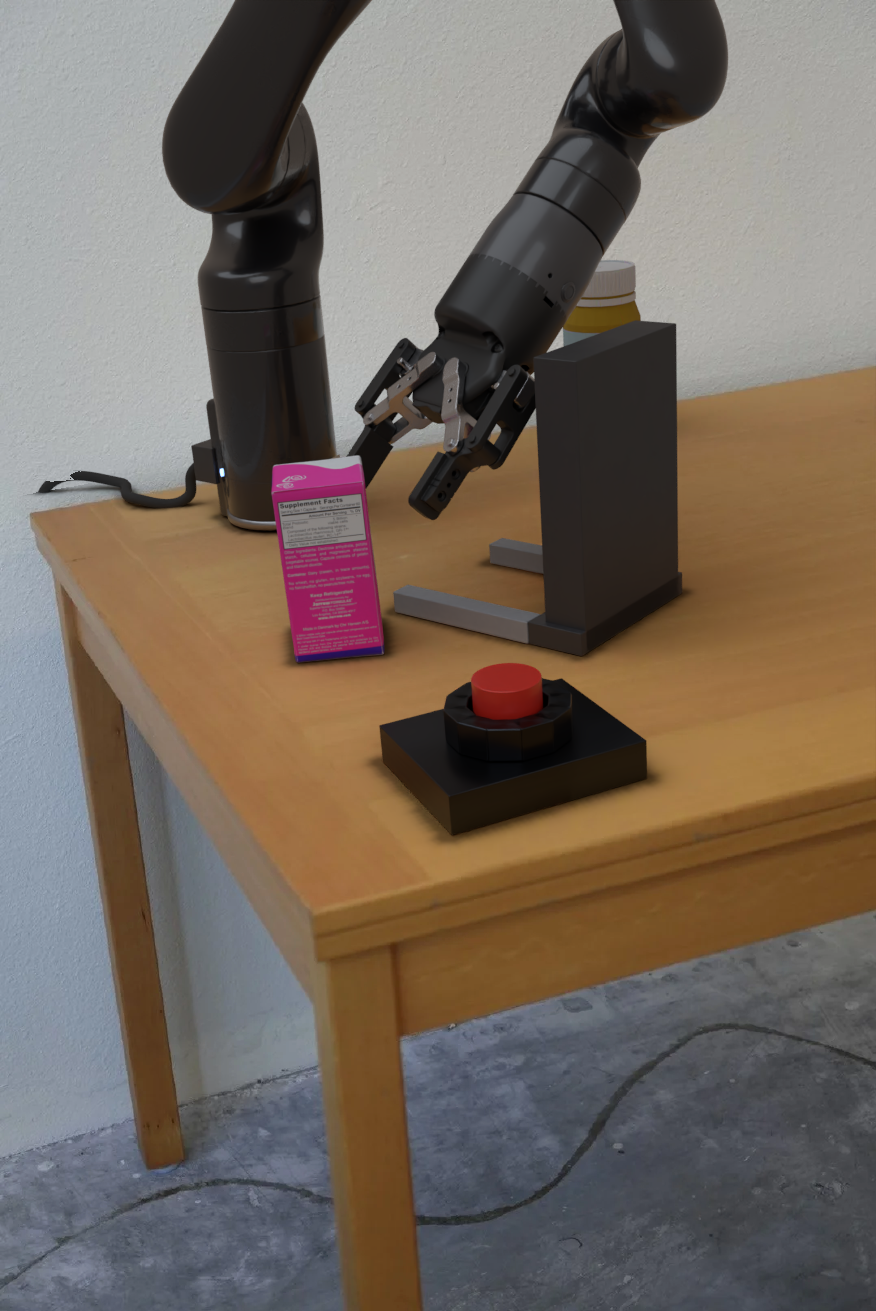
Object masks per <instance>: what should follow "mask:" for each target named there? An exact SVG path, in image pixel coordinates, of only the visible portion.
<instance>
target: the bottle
mask: <svg viewBox="0 0 876 1311" xmlns="http://www.w3.org/2000/svg"><path fill="white" fill-rule="evenodd" d="M636 272H637V270H636V264H635V262H633V261H630V260H623V259H601V261H600V263H599V264H598V266H597V268H596V271H595V273H594V275H593V277H592V280H591V282H590V284H589V286H588V288H587V289H586V291H585V293H584V294H583V296H582V298H581V299H580V301H579V302H578V304H577V305H576V307H575V309H574V310H573V312H572V313H571V315H570V316H569V318H568V319H567V321H566V323H565V324H564V326H563V327H562V343H563V344H562V345H563V347H564V346H566V345H569V344H572V343H575V342H577V341H580V340H583V339H586V338H588V337H591V336H594V335H597V334H599V333H602V332H605V331H608V330H610V329H613V328H616V327H619V326H621V325H624V324H627V323H630V322H632V321H635V320H636V321H642V318H641V317H642V316H641V313H640V310H639V307H638V305H637V302H636V299H637V298H636V297H637V293H636V292H637V291H636V287H637V286H636V285H637V279H636Z"/></svg>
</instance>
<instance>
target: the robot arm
mask: <svg viewBox="0 0 876 1311" xmlns="http://www.w3.org/2000/svg"><path fill="white" fill-rule="evenodd" d="M372 1H373V0H234V1H233V3H232V5H231V7H230V8H229V11H228V12H227V14H226V16H225V18H224V20H223V21H222V23H221V25H220V27H219V28H218V29H217V31H216V33H215V34H214V36H213V38H212V39H211V41H210V43H209V44H208V46H207V48H206V49H205V51H204V53H203V55H202V56H201V58H200V59H199V61H198V63H197V64H196V66H195V67H194V69H193V71H192V72H191V74H189V77H188V78H187V80H186V82H185V83H184V85H183V87H181V89H180V91H179V93H178V95H177V97H176V98H175V99H174V102H173V103H172V105H171V108H170V110H169V112H168V115H167V117H166V120H165V123H164V127H163V131H162V139H161V140H162V141H161V154H162V163H163V167H164V171H165V175H166V177H167V180H168V182H169V184H170V187H171V189H172V190H173V191H174V192H175V194H176V195H177V197H178V198H179V199H180V200H181V201H182V202H183V203H185V204H186V205H187V206H188V207H190V208H192V209H194V210H196V211H197V212H201V213H204V214H208V215H211V230H212V231H211V238H210V243H209V247H208V250H207V252H206V255H205V257H204V259H203V261H202V262H201V264H200V266H199V269H198V271H197V288H198V296H199V303H200V309H201V316H202V324H203V331H204V338H205V339H204V340H205V345H206V352H207V359H208V360H207V361H208V367H209V374H210V381H211V382H210V383H211V390H212V397H213V398H210V399H209V400H207V401H206V406H205V409H206V415H207V423H208V430H209V439H207V440H206V439H205V440H204V441H201V442H198V443H195V444H192V445H191V446H190V448H191V453H192V461H193V462H192V463H191V464H190V466H189V467H188V469H187V470H186V473H185V477H184V484H185V491H184V492H183V493H182V494H181V495H179V496H176V497H174V498H159V497H154V496H149V495H144V494H140V493H136V492H133V490H132V488H133V487H132V483H131V482H130V481H129V480H128V479H127V478H124V477H121V476H117V475H116V476H115V475H111V474H105V473H101V472H95V471H88V470H77V471H78V472H75V473H73V474H71V475H70V476H71V477H72V478H73V479H74V480H66V481H54V482H50V481H46V480H45V481H44V482H43V483H41V485H40V487H39V488H38V491H37V493H39V494H46V493H50V492H51V491H52V490H53V489H54V488H56V487H57V486H58V485H61V484H63V483H66V482H74V481H75V482H76V481H78V482H79V481H80V482H91V483H96V484H101V485H106V486H110V487H114V488H115V487H116V488H120V495H121V498H122V499H123V500H124V501H125V502H127V503H129V504H135V505H139V506H142V507H146V508H151V509H173V508H181V507H184V506H186V505H188V504H190V503H191V502H192V501H193V500H194V499H195V497H196V495H197V482H202V483H208V484H212V485H216V488H217V495H218V503H219V511H220V515H221V516H223V517H227V519H228V521H229V523H231V524H232V525H234V526H236V527H239V528H243V529H248V530H254V531H277V528H276V521H275V514H274V507H273V500H272V471H273V466H274V465H280V464H289V463H298V462H309V461H318V460H326V459H334V458H341V454H340V453H339V454H338V453H337V452H338V451H337V441H336V432H335V423H334V411H333V401H332V394H331V384H330V374H329V373H330V372H329V364H328V354H327V344H326V335H325V325H324V317H323V316H324V315H323V306H322V297H321V287H320V269H321V264H322V259H323V255H324V248H325V247H324V245H325V233H324V216H323V200H322V199H323V198H322V184H321V169H320V159H319V151H318V150H319V149H318V143H317V138H316V133H315V128H314V125H313V122H312V119H311V117H310V114H309V111H308V110H307V108H306V105H305V104H304V102H303V101H304V100H305V97H306V95H307V93H308V91H309V89H310V87H311V84H312V82H313V80H314V78H315V77H316V75H317V73H318V71H319V69H320V67H321V66H322V64H323V62H324V61H325V60H326V58H327V56H328V55H329V53H330V52H331V50H332V49H333V48H334V46H335V45H336V44H337V42H338V41H339V40H340V39H341V37H342V36H343V35H344V34H345V33H346V31H347V30H348V29H349V28H350V27H351V25H353V23H354V22H355V21H356V20H357V19H358V17H359V16H360V15H361V14H362V13H363V12H364V11H365V10H366V9H367V7H368V6H369V5H370V4H371V3H372ZM612 1H613V4H614V7H615V10H616V12H617V16H618V18H619V23H620V26H621V29H619V30H617V31H615V32H613V33H612V34H610V35H608V36H607V37H606V38H605V39H604V40H603V41H601V43H600V44H598V46H597V47H596V48H595V49H594V51H593V52H592V53H591V54H590V55H589V57H588V58H587V60H586V61H585V63H583V65H582V67H581V68H580V70H579V72H578V73H577V75H576V77H575V79H574V81H573V83H572V85H571V87H570V88H569V91H568V93H567V95H566V97H565V100H564V102H563V105H562V107H561V109H560V112H559V114H558V115H557V118H556V120H555V123H554V126H553V128H552V132H551V136H550V138H549V140H548V142H547V143H546V145H545V146H544V147H543V148H542V150H541V151H540V153H539V154H538V156H537V157H536V158H535V159H534V161H533V163H532V164H531V166H530V167H529V169H528V171H527V172H526V174H525V175H524V176H523V178H522V180H521V181H520V183H519V184H518V186H517V187H516V189H515V190H514V192H513V194H512V196H511V197H510V198H509V200H508V201H507V202H506V203H505V204H504V206H503V207H502V208H501V210H499V211H498V213H497V214H496V215H495V216H494V218H493V219H492V220H491V221H490V223H488V225H487V227H486V228H485V230H484V232H483V233H482V235H481V236H480V238H479V240H478V241H477V243H476V244H475V245H474V247H473V248H472V250H471V251H470V253H469V255H468V256H467V258H466V259H465V260H464V262H463V264H462V265H461V267H460V269H459V270H458V272H457V273H456V275H455V277H454V278H453V280H452V281H451V282H450V283H449V286H448V287H447V289H446V291H445V292H444V293H443V295H442V296H441V298H440V300H439V301H438V302H437V305H436V306H435V308H434V312H433V315H434V321H435V322H436V323H437V327H438V333H437V336H436V337H435V338H434V340H433V341H432V342H431V343H430V344H428V346H427V347H426V348H425V349H421V348H419V347H418V346H416V344H414V342H412V341H411V340H410V339H409V338H408V337H403V338H401V339H400V340H399V341H398V342H397V343H396V345H394V348H393V349H392V351H391V352H390V353H389V355H388V356H387V357H386V359H385V361H384V362H383V363H382V364H381V367H380V368H379V369H378V371H377V372H376V374H375V375H374V376H373V378H372V379H371V381H370V382H369V384H368V385H367V387H366V388H365V390H364V391H363V392H362V394H361V395H360V397H359V398H358V400H356V403H355V405H354V407H353V408H354V411H355V412H356V413H357V414H358V415H359V416H360V417H361V419H362V423H363V424H364V427H363V429H362V431H361V433H360V434H359V436H358V438H357V439H356V440H355V442H354V444H353V445H352V446H351V449H350V450H348V451H349V452H348V454H347V455H346V456H345V457H349V456H360V457H361V461H362V467H363V472H364V480H365V488H366V489H367V488H368V487H369V486H370V484H371V482H372V481H373V480H374V478H375V476H376V475H377V473H378V472H379V470H380V468H381V467H382V465H383V464H384V463H385V461H386V459H387V458H388V456H389V454H390V453H391V451H392V450H393V448H394V446H393V444H395V443H396V442H397V441H399V440H400V439H401V438H403V437H404V436H406V435H407V434H408V433H409V432H411V431H412V430H424V429H426V428H427V427H428V426H430V425H431V424H433V423H434V424H436V425H438V424H439V425H440V424H441V425H443V424H444V427H445V428H444V434H443V445H442V449H443V451H444V452H441V451H437V452H436V453H435V455H434V457H433V458H432V459H431V461H430V463H429V464H428V465H427V467H426V469H425V470H424V472H423V473H422V475H421V477H420V479H419V480H418V481H417V483H416V485H415V486H414V487H413V489H412V491H411V493H410V494H409V496H408V498H407V502H408V505H409V507H411V508H412V509H413V510H415V511H416V512H417V513H418V514H419V515H421V516H423V518H426V519H427V520H428V519H429V520H431V521H434V520H437V519H438V518H440V516H441V514H442V513H443V511H444V510H445V509H446V508H447V507H448V506H449V504H450V503H451V500H452V499H453V498H454V496H455V494H456V493H457V491H458V490H459V488H460V486H461V485H462V483H463V482H464V481H465V479H466V477H467V476H468V475H469V473H475V472H477V471H478V470H479V469H480V468H481V467H484V466H488V467H489V469H491V470H494V471H495V470H498V469H500V468H501V467H502V466H503V465H504V463H505V461H506V460H507V458H508V457H509V455H510V453H511V452H512V450H513V448H514V446H515V444H516V443H517V441H518V440H519V438H520V436H521V434H522V433H523V431H524V430H525V428H526V426H527V424H528V423H529V421H530V419H531V417H532V416H533V414H534V412H535V411H536V404H535V382H534V376H532V375H534V361H533V358H534V357H536V356H539V355H541V354H544V353H547V352H549V350H550V348H551V347H552V345H553V344H554V342H555V340H556V339H557V337H558V336H559V334H560V332H561V331H562V330H563V326H564V324H565V323H566V321H567V319H568V318H569V316H570V315H571V313H572V312H573V310H574V309H575V307H576V305H577V304H578V302H579V301H580V299H581V298H582V296H583V294H584V293H585V291H586V289H587V288H588V286H589V284H590V282H591V280H592V277H593V275H594V273H595V271H596V268H597V266H598V264H599V263H600V261H601V260H603V257H604V255H605V254H606V252H607V251H608V249H609V248H610V246H611V245H612V243H613V242H614V240H615V238H616V237H617V235H618V234H619V232H620V230H621V229H622V227H623V225H624V224H625V223H626V221H627V220H628V219H629V217H630V215H631V214H632V211H633V209H634V207H635V206H636V204H637V201H638V199H639V196H640V193H641V190H642V177H641V174H640V170H639V167H640V165H641V163H642V161H643V159H644V157H645V156H646V154H647V153H648V151H649V149H650V148H651V146H652V145H653V144H654V142H655V141H656V140H657V139H658V137H659V136H660V135H661V134H663V133H666V132H669V131H671V130H673V129H676V128H680V127H682V126H685V125H689V124H691V123H693V122H695V121H698V120H699V119H701V118H703V117H704V116H705V115H707V114H708V113H709V112H710V111H711V110H712V109H713V108H714V107H715V106H716V105H717V103H718V101H719V100H720V98H721V97H722V94H723V92H724V90H725V86H726V82H727V78H728V70H729V46H728V39H727V33H726V29H725V25H724V22H723V19H722V18H723V17H722V15H721V13H720V10H719V7H718V4H717V1H716V0H612ZM384 390H385V391H386V397H385V398H384V399H383V400H382V401H380V402H379V403H377V404H376V402H377V400H378V399H379V398H380V396H381V395H382V393H383V392H384ZM411 395H412V398H411V399H412V400H411V399H410V397H411ZM398 414H399V415H400V416H401V417H400V418H399V419H397V420H396V421H395V422H394V420H395V419H396V417H397V416H398ZM496 426H498V427H499V428H500V432H499V435H498V437H497V438H496V439H495V442H494V443H493V442H491V437H492V433H493V430H494V429H495V428H496ZM80 471H81V472H80ZM70 479H71V478H70Z"/></svg>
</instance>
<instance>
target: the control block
mask: <svg viewBox="0 0 876 1311" xmlns="http://www.w3.org/2000/svg"><path fill="white" fill-rule="evenodd" d="M542 694H543V708H542V710H540V711H539V712H538V713H536V714H533V715H529V716H525V717H522V718H518V719H502V720H493V719H489V718H485V717H481V716H477V715H476V714H475V713H474V711H473V701H472V687H471V681H468V682H466V683H464V684H462V685H460V686H459V687H458V688H456V689H454V690H453V691H451V692H450V693H449V694H447V695H446V697H445V701H444V704H443V705H444V706H443V708H441V709H437V710H433V711H429V712H425V713H422V714H418V715H413V716H410V717H406V718H402V719H399V720H394V721H390V722H387V723H383V724H380V725H379V738H380V747H381V757H382V762H383V763H384V765H385V766H387V768H388V769H389V770H390V771H391V772H392V773H393V774H394V775H395V776H396V778H398V780H399V781H400V782H401V783H402V784H403V785H404V786H405V787H406V788H407V789H408V790H409V791H410V792H411V794H412V795H413V796H414V797H415V798H416V799H417V800H418V801H419V802H420V803H421V804H422V805H423V806H424V808H426V810H427V811H428V812H430V814H432V815H433V817H434V818H435V819H436V820H437V821H438V822H439V823H440V824H441V826H443V828H444V829H445V830H446V831H448V833H449V834H450V835H451V836H454V835H458V834H462V833H465V832H468V831H472V830H475V829H479V828H482V827H485V826H488V825H492V824H496V823H499V822H502V821H506V820H509V819H513V818H516V817H519V816H523V815H527V814H531V813H533V812H536V811H540V810H545V809H547V808H551V807H553V806H558V805H561V804H564V803H568V802H571V801H574V800H577V799H581V798H584V797H588V796H592V795H595V794H599V793H601V792H605V791H609V790H612V789H615V788H619V787H622V786H626V785H629V784H633V783H635V782H639V781H643V780H647V779H648V758H647V757H648V753H647V751H648V750H647V749H648V747H647V746H648V745H647V739H646V738H644V737H643V736H641V735H640V734H638V733H637V732H635V730H633V729H631V728H630V727H629V726H628V725H626V724H625V723H624V722H622V721H621V720H619V719H618V718H617V717H615V715H613V714H611V713H610V712H609V711H607V710H605V709H604V708H603V707H601V706H600V705H599V704H597V703H596V702H595V701H594V700H592V698H589V697H588V696H587V695H586V694H584V693H582V692H581V691H580V690H579V689H578V688H576V687H575V686H573V685H572V684H570V683H569V682H568V681H566V680H565V679H564V678H562V677H560V678H557V679H554V680H553V679H549V678H544V677H542Z"/></svg>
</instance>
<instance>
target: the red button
mask: <svg viewBox="0 0 876 1311" xmlns="http://www.w3.org/2000/svg"><path fill="white" fill-rule="evenodd" d="M542 678H543V676H542V673H541V671H540V670H539V669H537V668H536V667H534V666H532V665H529V664H526V663H525V664H524V663H518V662H503V663H502V662H501V663H495V664H490V665H487V666H484V667H481V668H480V669H477V671H475V672H474V673H473V674H472V675H471V678H470V682H471V687H472V701H473V711H474V713H475V714H476V715H477V716H481V717H485V718H489V719H493V720H502V719H518V718H522V717H525V716H529V715H533V714H536V713H538V712H539V711H540V710H542V708H543V694H542Z"/></svg>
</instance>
